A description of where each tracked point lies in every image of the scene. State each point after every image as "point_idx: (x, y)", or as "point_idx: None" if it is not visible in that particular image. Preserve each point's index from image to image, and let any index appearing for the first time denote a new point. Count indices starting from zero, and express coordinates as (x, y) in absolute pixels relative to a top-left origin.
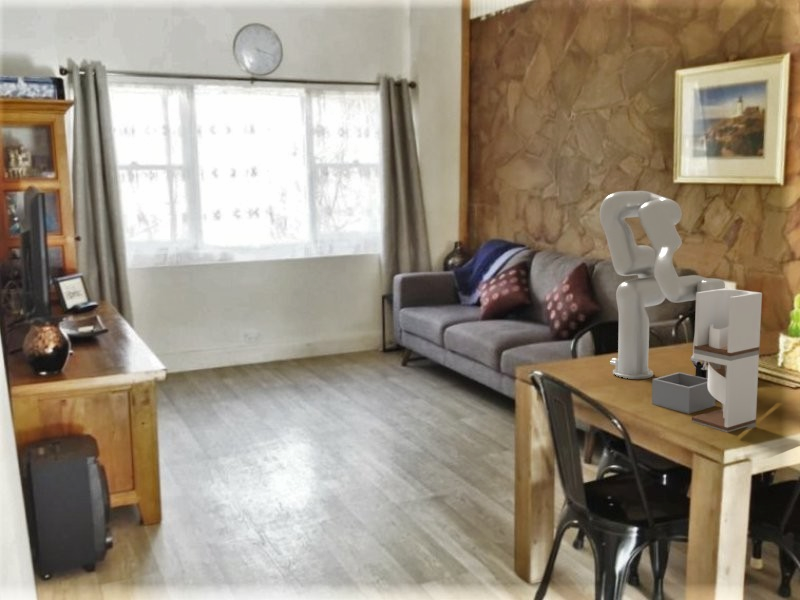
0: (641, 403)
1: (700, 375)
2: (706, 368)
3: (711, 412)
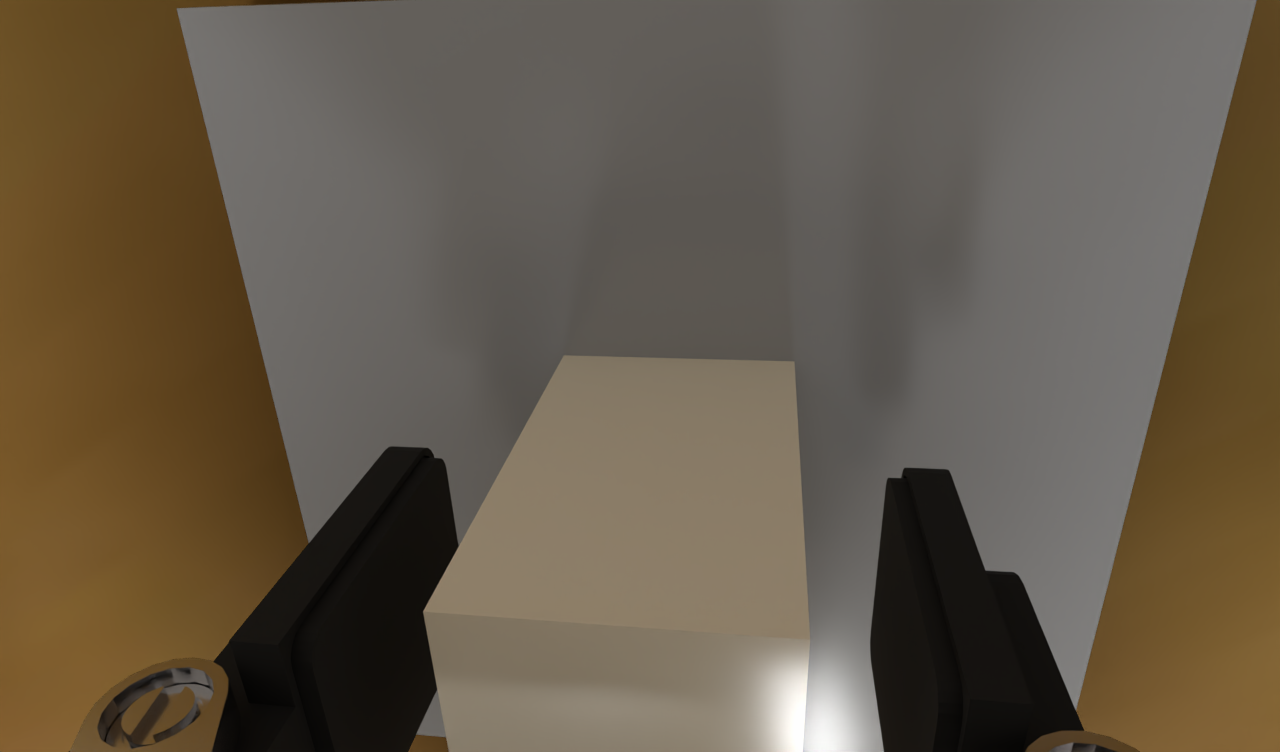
0: None
1: (1041, 660)
2: None
3: None
